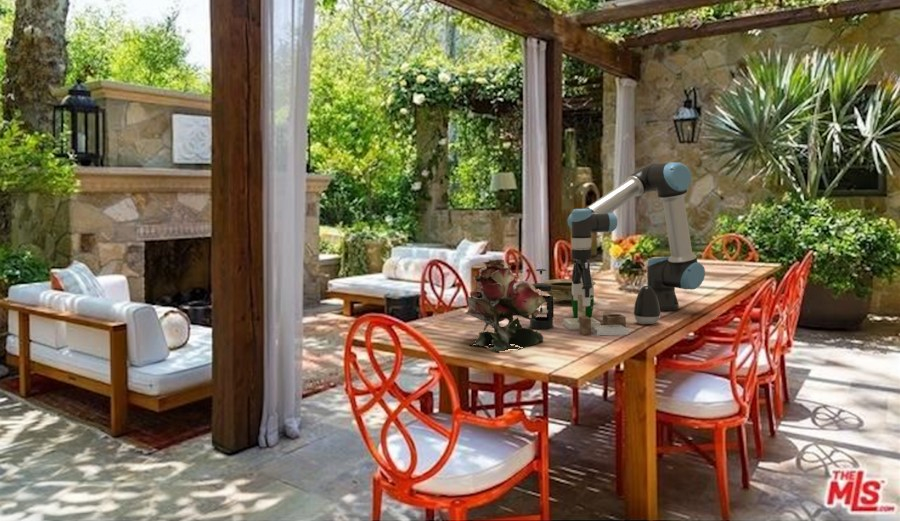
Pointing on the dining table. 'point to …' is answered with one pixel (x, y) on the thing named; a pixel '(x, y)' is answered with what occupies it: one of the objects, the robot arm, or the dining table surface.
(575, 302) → the milk carton
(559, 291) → the ceramic bowl
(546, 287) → the french press
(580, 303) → the dowel
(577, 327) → the tray
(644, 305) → the pump dispenser
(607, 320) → the socket block
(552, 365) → the dining table surface
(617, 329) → the plate
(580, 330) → the wooden block
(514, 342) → the rose bouquet
